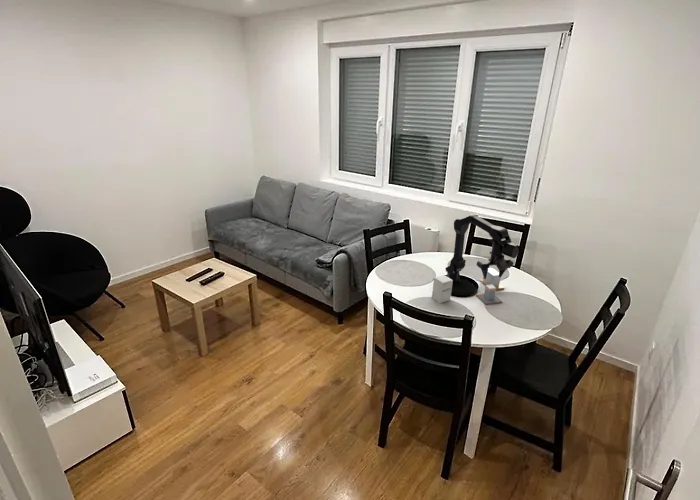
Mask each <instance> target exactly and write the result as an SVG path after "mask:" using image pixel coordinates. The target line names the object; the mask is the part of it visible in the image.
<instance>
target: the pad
mask: <svg viewBox="0 0 700 500" xmlns="http://www.w3.org/2000/svg"><path fill="white" fill-rule="evenodd" d="M475 296H476V297H477V298H478V299H479V300H480V301H481V302H482V303H483V304H484V305H486V306H487V305H493V304H494V305H495V304H502V303H503V300H502V299H500V298H499V297H498V296H497V295H495V298H494V299H492V300H487V299H486V298H485V297H484V293H482V292H481V293H476V294H475Z"/></svg>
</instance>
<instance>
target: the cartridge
mask: <svg viewBox="0 0 700 500" xmlns="http://www.w3.org/2000/svg"><path fill="white" fill-rule="evenodd" d="M484 286H485V285H484ZM496 291H497V290H496V287H494V286H493V285H486V286H485V287H484V297H485V298H486V299H487V300H492V299H494V298H495V296H496Z"/></svg>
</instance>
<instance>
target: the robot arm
mask: <svg viewBox="0 0 700 500" xmlns="http://www.w3.org/2000/svg"><path fill="white" fill-rule="evenodd" d="M453 221H454V222H453V230H454V232H455V240H454V251H453V256H452V258H451V259H450V262H449V265H447V266H446V267H445V272H446V276H447V277H448V278H450V279H452V280H453V281H457V280H458V279H459V280H460V272H461V271H462V270H463V269H464V268H465V267H466V262H467V260H466V259H464V257H463V253H464V246H465V245H464V243H465V236H466V233H467V232H468V229H469V227H470V224H473V225H474V226H476V227H478V228H480V229H481V230H483V231H484V232H486V233H488V235H489V236H490V237H491V239H489V240H488V241H489V242H491V243H492V246H491V251H489V255H490V258H488V259H487V260H488V262H487V261H486V260H483V259H482V260H478V261H477V262H476V266H477V267H478V268H479V269H480V270H481V272H482V276H484V279H486V276H487V271H488V270H489V269H488V268H490V267H491V266H496V267H497V269H498V273H499V277H501V278H502V276H503V275H504V273H505V272H506V270H507V269H510V268H512V267H514V262H513V260H511V259H510V258H512V259H516V258H517V256H518V255H519V252H520V251H519V250H520V249H519V248H518V244H514V243H512V239H511V237H510V234H509V231H508V229H507V228H505V227H503V226H501V225H500V226H499V225H494V224H493V223H490V222H489V221H487V220H485V219H483V218H482V217H479V216H478V215H477V214H475V213H474V214H469V215H468V216H466V217H461V218H456V219H455V220H453ZM505 256H507V257H505ZM508 257H509V258H508Z"/></svg>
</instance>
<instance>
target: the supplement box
mask: <svg viewBox="0 0 700 500" xmlns="http://www.w3.org/2000/svg"><path fill="white" fill-rule="evenodd" d="M432 285H433V286H432V293H431V298H432V299H433V300H435V301H436V302H437V303H439V304H441V303H445V302H448V301H450V300H451V297H452V290H453V280H452V279H450V278H448V277H447V275H446V274H445V275H439V276H435V277H433V284H432Z"/></svg>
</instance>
